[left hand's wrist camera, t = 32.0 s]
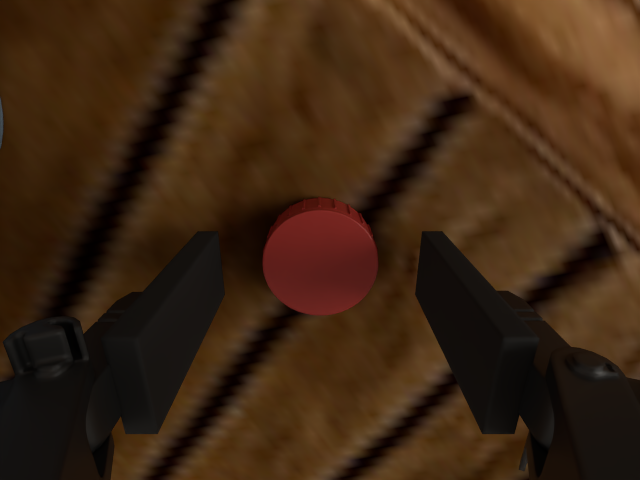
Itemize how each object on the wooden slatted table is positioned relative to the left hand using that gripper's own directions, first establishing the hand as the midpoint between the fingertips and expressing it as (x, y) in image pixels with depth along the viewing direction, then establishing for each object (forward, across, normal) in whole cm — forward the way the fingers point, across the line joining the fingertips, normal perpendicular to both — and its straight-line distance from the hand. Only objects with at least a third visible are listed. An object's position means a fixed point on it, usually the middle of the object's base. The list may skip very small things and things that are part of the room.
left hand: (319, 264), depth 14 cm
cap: (0, 0, 0) cm, 0 cm away
